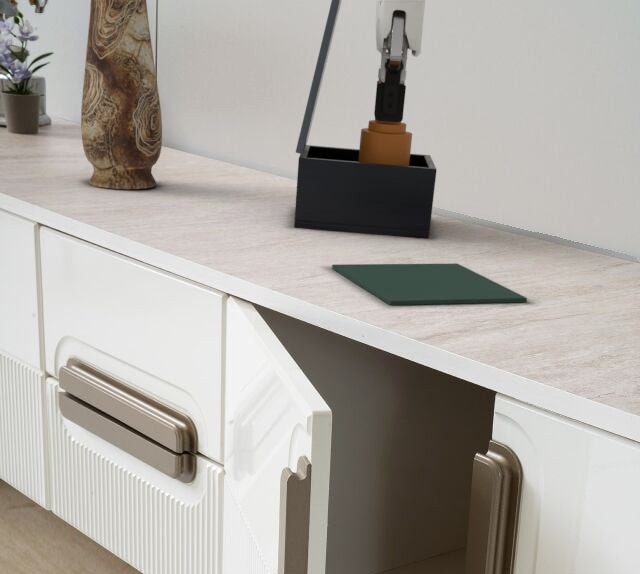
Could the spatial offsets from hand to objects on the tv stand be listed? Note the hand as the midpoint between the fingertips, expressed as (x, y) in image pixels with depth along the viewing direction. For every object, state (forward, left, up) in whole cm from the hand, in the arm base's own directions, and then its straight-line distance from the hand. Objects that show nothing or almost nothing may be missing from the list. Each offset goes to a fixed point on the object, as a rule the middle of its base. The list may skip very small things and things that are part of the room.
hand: (388, 117), depth 131 cm
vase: (+26, -26, -13) cm, 39 cm away
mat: (+8, +29, -12) cm, 33 cm away
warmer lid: (+7, -3, +4) cm, 9 cm away
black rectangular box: (+2, -1, -12) cm, 12 cm away
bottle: (0, 0, -12) cm, 12 cm away
